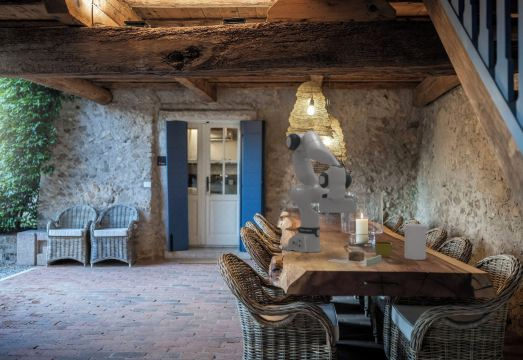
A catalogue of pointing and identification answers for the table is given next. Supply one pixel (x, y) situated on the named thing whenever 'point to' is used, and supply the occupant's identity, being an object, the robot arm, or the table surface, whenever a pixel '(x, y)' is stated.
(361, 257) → the walnut block
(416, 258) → the cup
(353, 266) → the table surface
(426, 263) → the table surface
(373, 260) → the trap deck
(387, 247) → the flower pot
